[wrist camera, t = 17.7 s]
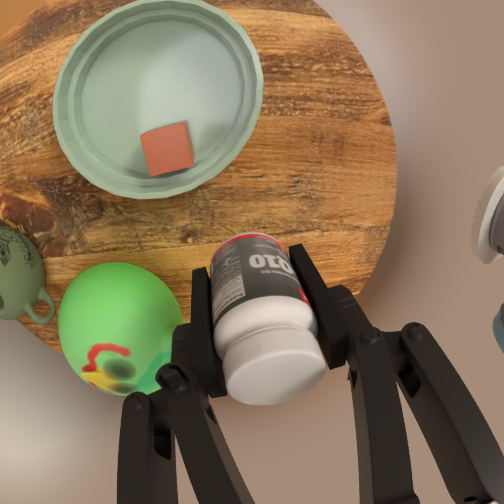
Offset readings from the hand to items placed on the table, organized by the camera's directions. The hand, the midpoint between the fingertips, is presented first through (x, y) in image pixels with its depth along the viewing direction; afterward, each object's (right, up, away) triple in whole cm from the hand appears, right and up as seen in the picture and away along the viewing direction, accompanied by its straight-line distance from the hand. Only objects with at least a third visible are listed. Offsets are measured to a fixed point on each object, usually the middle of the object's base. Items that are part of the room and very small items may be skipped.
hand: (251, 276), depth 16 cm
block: (-8, +12, +9) cm, 17 cm away
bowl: (-9, +17, +7) cm, 21 cm away
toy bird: (-16, -5, +19) cm, 26 cm away
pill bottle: (0, +1, +1) cm, 1 cm away
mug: (-33, 0, +13) cm, 35 cm away
